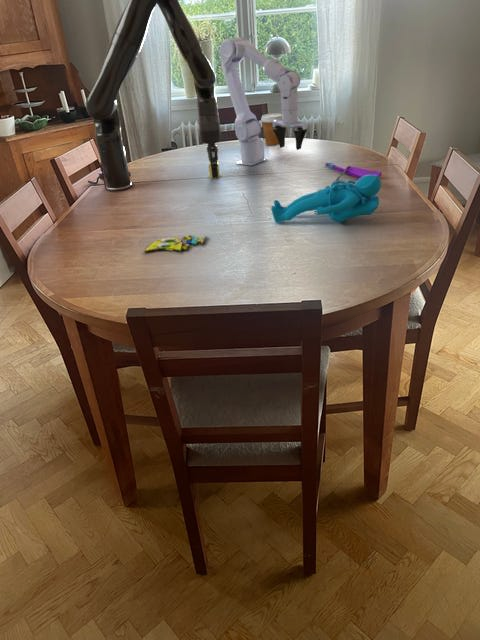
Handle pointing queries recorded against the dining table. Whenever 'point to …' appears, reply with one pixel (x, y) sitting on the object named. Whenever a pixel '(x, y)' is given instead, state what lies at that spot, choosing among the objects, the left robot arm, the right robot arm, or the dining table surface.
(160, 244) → the toy
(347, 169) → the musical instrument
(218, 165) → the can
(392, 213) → the dining table surface
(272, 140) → the disposable coffee cup
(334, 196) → the toy
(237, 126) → the right robot arm
